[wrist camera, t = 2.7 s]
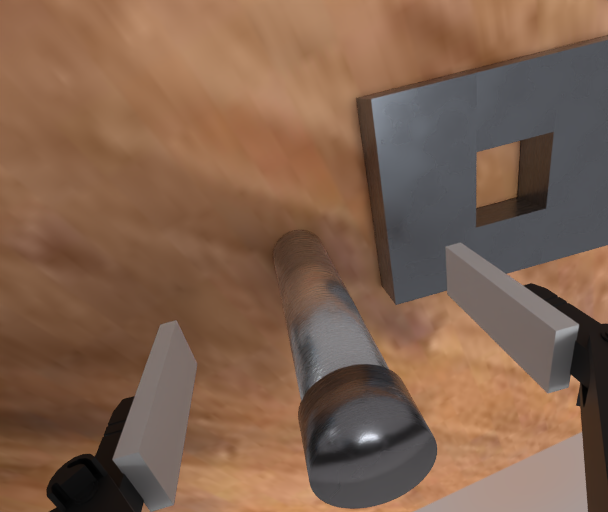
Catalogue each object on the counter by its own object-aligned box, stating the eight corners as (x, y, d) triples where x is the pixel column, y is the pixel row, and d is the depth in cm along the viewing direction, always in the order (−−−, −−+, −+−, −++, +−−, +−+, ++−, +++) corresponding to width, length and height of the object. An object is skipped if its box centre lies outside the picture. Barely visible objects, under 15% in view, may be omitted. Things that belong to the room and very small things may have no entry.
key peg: (277, 285, 23) (323, 522, 10) (263, 235, 21) (295, 444, 9) (331, 270, 23) (439, 486, 10) (320, 220, 21) (434, 403, 9)
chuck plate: (382, 285, 24) (395, 304, 22) (356, 98, 19) (371, 99, 17) (584, 229, 25) (617, 242, 23) (615, 33, 20) (661, 26, 17)
